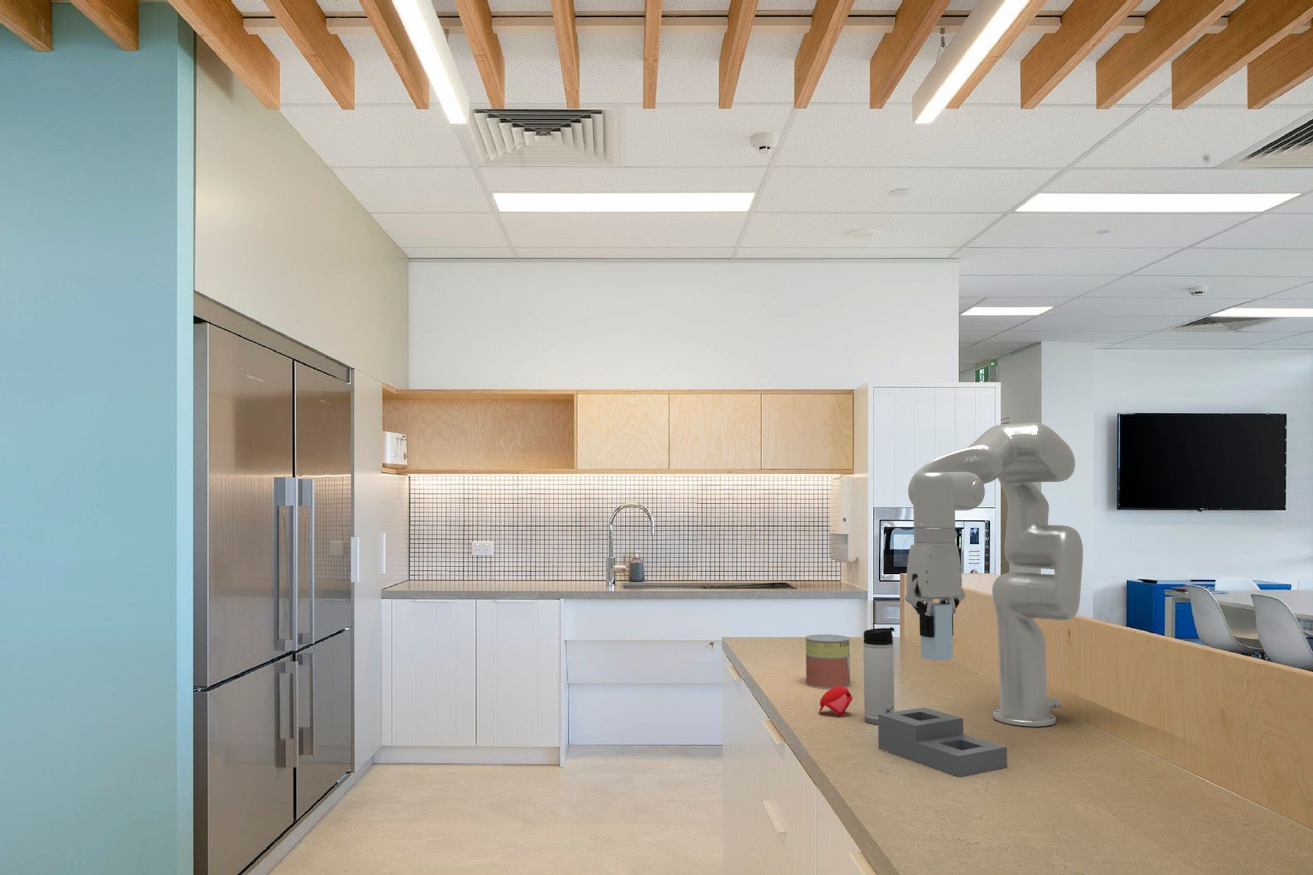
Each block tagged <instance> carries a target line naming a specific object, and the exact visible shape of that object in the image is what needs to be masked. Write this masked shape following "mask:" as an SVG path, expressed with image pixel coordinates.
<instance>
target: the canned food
mask: <svg viewBox="0 0 1313 875" xmlns="http://www.w3.org/2000/svg"><path fill="white" fill-rule="evenodd" d="M850 640H851V638H850V637H848V636H846V635H845V636H844V635H839V634H838V635H837V634H811V635H806V636H805V665H806V666H805V670H806V671H805V672H806V674H805V675H806V680H805V681H806V682H805V685H806V686H807V687H810V688H814V689H818V690H819V689H820V690H830V689H832V688H835V687H846V688H847V689H848V688H850V687H851V664H850V662H851V661H850V660H851V659H850V658H851V656H850V655H851V654H850V653H851V652H850V651H851V650H850Z"/></svg>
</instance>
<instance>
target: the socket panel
mask: <svg viewBox="0 0 1313 875" xmlns="http://www.w3.org/2000/svg"><path fill="white" fill-rule="evenodd" d="M877 727H878V728H877V731H878V732H877V733H878V734H877V736H878V749H879V750H881V749H883V750H885V751H884V752H886V751H888V752H887V753H889V752H890V753H889V754H892V753H894V754H893V755H895V754H896V755H895V756H898V755H900V756H899V757H901V756H902V757H901V758H903V757H904V759H906V758H907V760H910V761H912V760H913V761H912V762H916V763H918V764H921V765H923V764H924V765H923V766H926V767H929V768H933V769H935V770H937V771H941V772H943V773H946V774H949V775H952V776H954V777H955V776H956V777H958V778H961V777H965V776H969V775H975V774H979V773H986V772H989V771H995V770H1000V769H1004V768H1005V769H1006V768H1008V747H1007V746H1005V745H1001V744H999V743H994V742H990V741H987V740H984V739H981V738H978V737H974V736H971V735H967V734H965V733H964V717H962V716H961V717H960V716H956V715H952V714H950V713H945V712H942V711H939V710H935V709H931V708H927V707H918V708H912V709H906V710H905V709H903V710H897V711H894V712H890V713H883V714H878V725H877ZM883 750H882V751H883Z"/></svg>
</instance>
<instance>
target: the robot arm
mask: <svg viewBox="0 0 1313 875" xmlns="http://www.w3.org/2000/svg"><path fill="white" fill-rule="evenodd" d="M1075 468H1076V460H1075V455H1074V452H1073V450H1072V448H1071V447H1070V446H1069V445H1068V443H1067V442H1066V441H1065V440H1064V439H1063V438H1062V437H1061V436H1060V435H1058V433H1057V432H1056V431H1054V430H1053V429H1052V428H1050V427H1049V426H1047V425H1046V424H1044V423H1041V422H1022V423H1021V422H1017V423H1003V424H1002V423H1001V424H997V425H994V426H991V427H990V428H988V429H987V430H986V431H985V432H984V433H983V434H981V435H980V436H979V437H978V438H976V439H975V441H974V442H972V443H971V444H970V445H969V446H968V447H967V446H966V447H965V448H962V449H959V450H956V451H954V452H951V453H948V454H946V455H943V456H940V457H937V458H935V459H933V460H931V461H929V462H927V463H925V464H924V465H923V466H921V468H919V469H918V470H917V471H916V472H915V473H914V474H913V476H912V477H911V478H910V481H909V484H908V488H907V494H908V499H909V500H910V503H911V504H912V505H913V506H912V507H913V511H912V513H913V544H910V547H909V551H908V556H907V557H908V558H907V567H906V595H905V601H906V602H907V603H908V604H910V605H911V606H912V608H913V609H914V610H915V611H916V614H917V615H919V619H918V620H919V636H920V637H921V636H923V637H929V638H933V637H934V616H931V613H932V604H933V603H934V600H937V599H938V601H939V602H938V603H942V604H950V605H952V637H953V636H954V615H955V614H956V612H957V610H956V609H957V608H958V606H959V605H960V603H961V602H962V601H963V600H964V599H965V598H966V593H965V591H964V589H963V575H962V574H963V573H962V565H961V564H962V563H961V557H960V552H959V547H958V545H957V544H956V539H957V537H958V532H957V531H956V511H962V512H963V511H971V510H974V509H976V508H979V506H980V505H982V503H983V501H984V500H985V494H986V490H985V484H989V483H991V482H994V481H996V480H997V479H998V482H999V484H1000V485H1001V488H1002V490H1003V492H1004V495H1005V497H1006V500H1007V502H1006V503H1007V515H1006V527H1005V538H1004V556H1005V560H1006V561H1007V562H1008V564H1010V565H1012V566H1015V567H1018V568H1024V569H1025V568H1027V569H1042V570H1054V574H1049V573H1048V574H1047V573H1037V572H1019V571H1017V572H1016V571H1015V572H1014V571H1013V572H1005V573H1002V574H1001V575H1000V574H999V575H998V576H997V577H996V578H995V580H994V581H993V584H992V594H991V595H992V600H993V604H994V608H995V614H996V621H997V634H998V671H999V672H998V677H999V708H998V709H996V710H993V712H992V718H993V719H994V720H996V721H998V722H1000V723H1004V724H1008V725H1013V726H1021V727H1022V726H1023V727H1048V726H1052V725H1055V723H1056V722H1057V720H1056V719H1057V718H1056V716H1055V715H1054V714H1053V713H1051V710H1053V709H1058V708H1060V707H1061V704H1062V702H1061V700H1060V699H1059V698H1052V699H1050V698H1049V697H1048V680H1047V679H1048V678H1047V677H1048V676H1047V647H1046V638H1045V634H1044V633H1043V631H1042V629H1041V627H1040V625H1039V624H1038V623H1037V621H1036V619H1042V620H1050V621H1051V620H1053V621H1054V620H1055V621H1070V620H1072V619H1074V618H1075V617H1076V615H1078V614H1077V613H1078V612H1079V607H1080V600H1081V589H1082V575H1083V574H1082V573H1083V565H1084V564H1083V562H1084V547H1083V546H1084V545H1083V541H1082V538H1081V535H1080V533H1079V532H1078V531H1077V530H1076V529H1075V528H1073V527H1071V526H1068V525H1064V524H1063V525H1059V524H1055V525H1054V524H1049V512H1050V506H1049V502H1048V501H1047V499H1046V497H1045V495H1044V494H1043V492H1041V490H1040V489H1039V488H1038V487H1037V486H1036V485H1035V483H1058V482H1064V481H1067V480H1068V479H1070V478H1071V477H1072V476H1073V474H1074V471H1075ZM924 603H926V605H924Z"/></svg>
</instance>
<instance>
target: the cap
mask: <svg viewBox="0 0 1313 875" xmlns="http://www.w3.org/2000/svg"><path fill="white" fill-rule="evenodd" d="M852 700H853V696H852V694H851V693H850V690H849V689H848V688H846V687H835V688H832V689H828V690H827V691H826V692H825V693H824V694H823V695H822V697H821V698H820V700H819V706H820V709H819V711H818V714H821V712H822V711H823V710H824V707H827V708H829V709H830V711H832V712H833V713H836V714H837V716H838V717H841V716H842V717H844V716H845V712H846V710H847V709H848V707H849V706H850V704H851V703H852Z"/></svg>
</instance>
